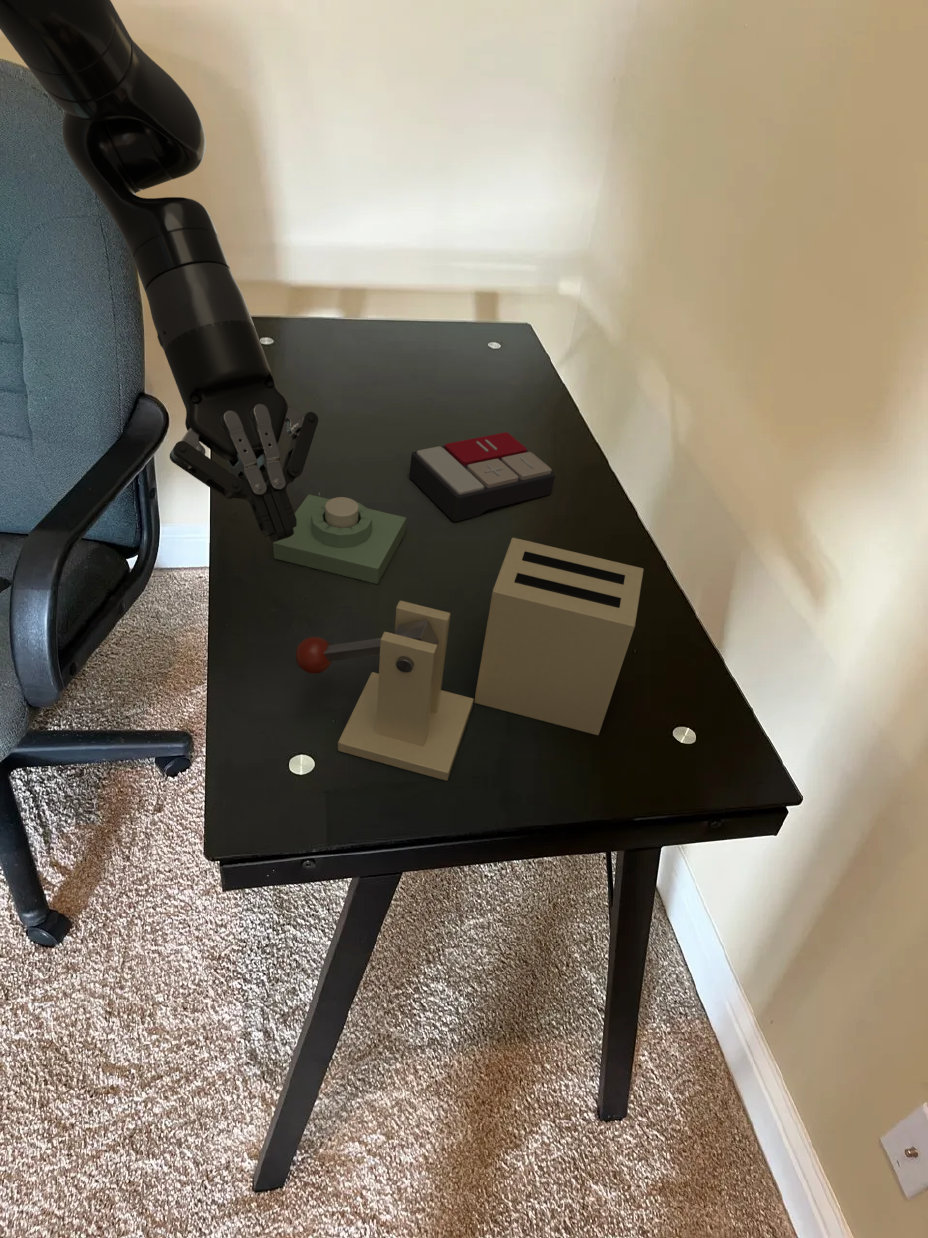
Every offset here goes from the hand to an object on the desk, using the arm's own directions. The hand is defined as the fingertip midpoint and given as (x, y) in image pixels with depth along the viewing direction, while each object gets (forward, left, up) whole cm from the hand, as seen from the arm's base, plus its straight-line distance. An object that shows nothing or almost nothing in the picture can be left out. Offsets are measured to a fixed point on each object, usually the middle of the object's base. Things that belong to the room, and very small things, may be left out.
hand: (283, 538), depth 69 cm
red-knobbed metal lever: (+9, -4, -8) cm, 13 cm away
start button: (-2, +19, -12) cm, 23 cm away
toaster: (+24, +5, -15) cm, 29 cm away
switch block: (-2, +19, -15) cm, 25 cm away
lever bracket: (+13, -4, -15) cm, 20 cm away
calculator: (+10, +38, -16) cm, 42 cm away
